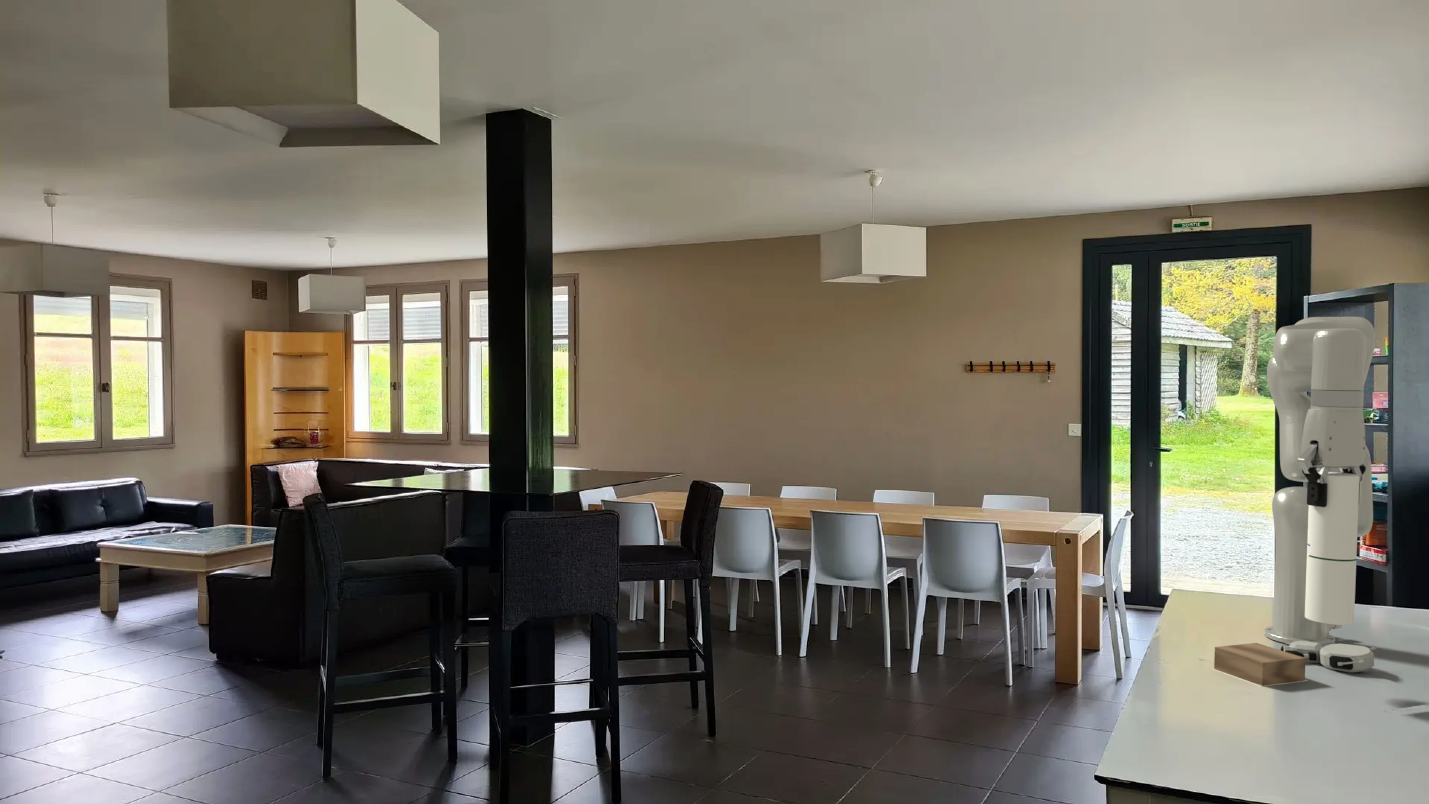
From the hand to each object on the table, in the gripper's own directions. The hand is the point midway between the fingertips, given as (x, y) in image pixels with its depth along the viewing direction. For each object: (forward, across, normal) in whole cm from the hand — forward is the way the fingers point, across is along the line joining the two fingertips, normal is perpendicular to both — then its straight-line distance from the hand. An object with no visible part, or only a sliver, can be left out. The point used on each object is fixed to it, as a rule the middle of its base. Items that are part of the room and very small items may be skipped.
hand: (1332, 504), depth 166 cm
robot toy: (+33, -14, -10) cm, 37 cm away
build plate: (+32, +5, -9) cm, 34 cm away
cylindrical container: (+20, 0, 0) cm, 20 cm away
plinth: (+32, +5, -9) cm, 33 cm away
